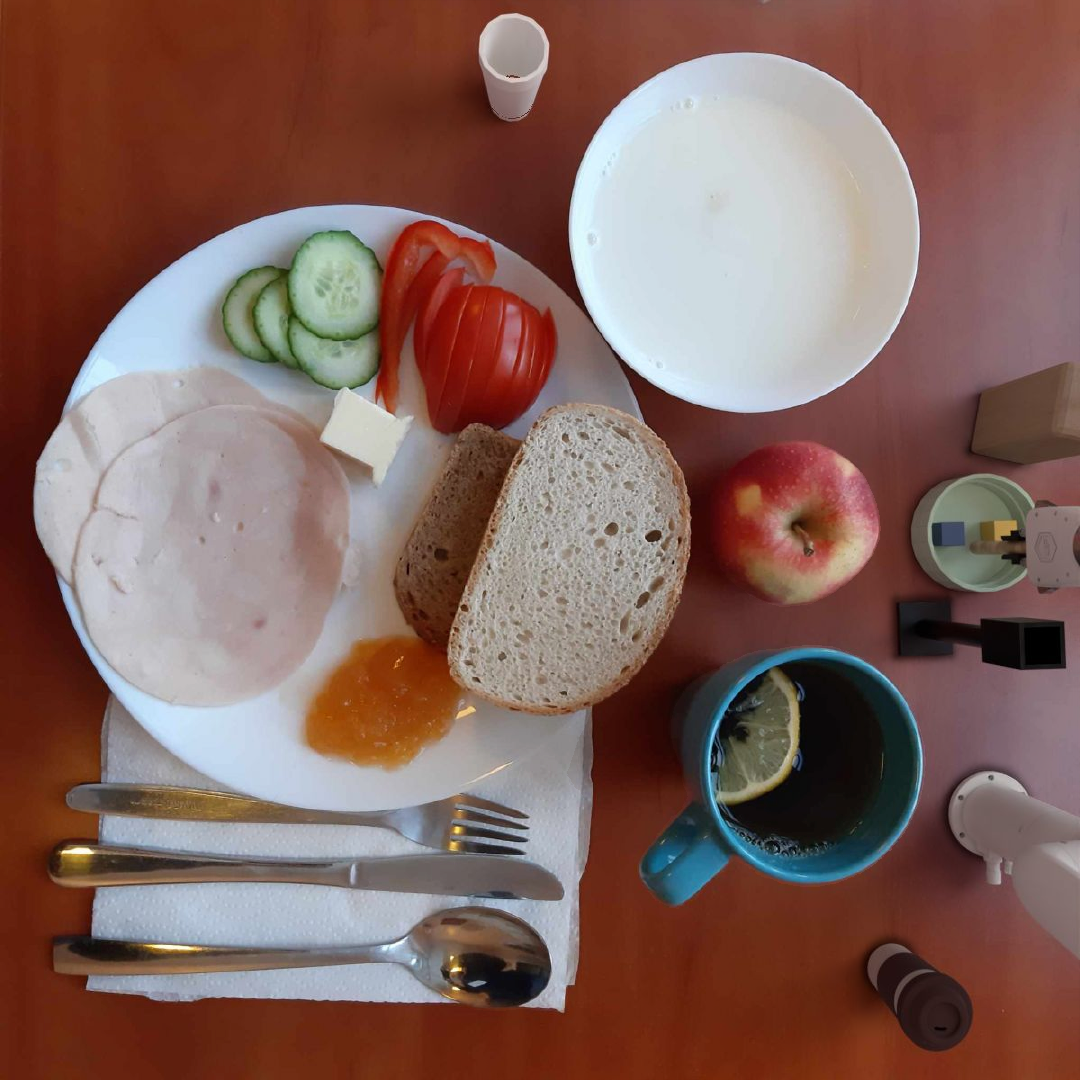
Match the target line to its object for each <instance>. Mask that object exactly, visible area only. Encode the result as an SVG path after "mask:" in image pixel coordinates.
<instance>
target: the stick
mask: <svg viewBox="0 0 1080 1080" xmlns="http://www.w3.org/2000/svg"><path fill="white" fill-rule="evenodd" d="M970 551H971V552H972V553H973V554H975V555H1002V554H1026V540H1018V541H1002V540H998V541H974V542H972V543H971V544H970Z"/></svg>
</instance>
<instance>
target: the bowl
mask: <svg viewBox="0 0 1080 1080" xmlns="http://www.w3.org/2000/svg"><path fill="white" fill-rule="evenodd" d="M1034 507H1035V503H1034V501H1033V499H1032V498H1031V496H1030V494H1028V493H1027V492H1026V491H1025V490H1024V489H1023V488H1022V487H1021V486H1020V485H1019V484H1018V483H1016V482H1015V481H1012V480H1011V479H1009V478H1007V477H1006V476H1001V475H998V474H994V473H972V474H966V475H962V476H956V477H953V478H950V479H946V480H943V481H941V482H940V483H938V484H937V485H935V486H934V487H932V488H931V489H929V490H928V491H927V493H925V495H924V496H923V497H922V498H921V499H920V501H919V503H918V505H917V506H916V509H915V510H914V512H913V517H912V521H911V526H910V538H911V539H910V540H911V546H912V549H913V552H914V556H915V558H916V560H917V562H918V563H919V565H920V567H921V569H922V570H923V571H924V572H925V573H926V574H927V575H928V577H930V578H931V579H932V580H933V581H934V582H936V583H938V584H940V585H941V586H943V587H945V588H947V589H951V590H954V591H958V592H970V593H995V592H999V591H1002V590H1005V589H1009V588H1011V587H1012V586H1014V585H1015V584H1017V583H1018V582H1020V581H1021V580H1022V579H1024V578H1025V577H1026V576H1027V575H1028V573H1027V568H1026V567H1022V566H1021V565H1011V560H1002V559H1001V556H1002V555H975V554H973V553H972V552H971V551H970V544H971V543H972V542H974V541H981V524H980V522H986V521H1009V520H1017V530H1020V528H1025V526H1026V517H1027V514H1028V512H1029V511H1030V510H1031V509H1034ZM937 522H964V528H965V545H963V546H933V543H932V528H931V527H932V523H937Z"/></svg>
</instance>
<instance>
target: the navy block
mask: <svg viewBox="0 0 1080 1080" xmlns="http://www.w3.org/2000/svg"><path fill="white" fill-rule="evenodd" d="M931 528H932V543H933V546H963V545H965V528H964V522H937V523H932V527H931Z"/></svg>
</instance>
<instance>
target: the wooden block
mask: <svg viewBox="0 0 1080 1080" xmlns="http://www.w3.org/2000/svg"><path fill="white" fill-rule="evenodd" d="M971 451H972V452H973V453H974V454H977V455H981V456H985V457H990V458H994V459H1000V460H1004V461H1008V462H1012V463H1017V464H1021V465H1027V466H1029V465H1034V464H1039V463H1044V462H1045V463H1046V462H1051V461H1056V460H1061V459H1067V458H1073V457H1079V456H1080V362H1076V361H1071V360H1070V361H1064V362H1063V363H1059V364H1056V365H1054V366H1050V367H1047V368H1045V369H1042V370H1039V371H1036V372H1033V373H1030V374H1027V375H1024V376H1021V377H1019V378H1016V379H1013V380H1011V381H1010V380H1009V381H1007V382H1004V383H1001V384H999V385H995V386H992V387H989V388H987V389H985V390H983V391H982V392H981V394H980V398H979V402H978V409H977V414H976V419H975V425H974V430H973V436H972V441H971Z"/></svg>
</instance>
